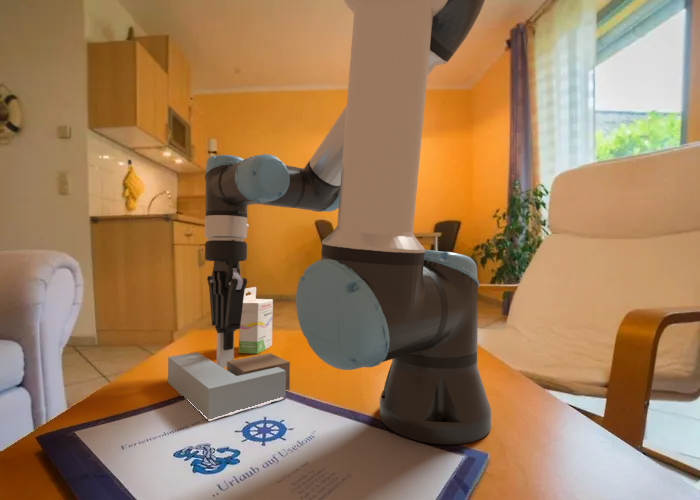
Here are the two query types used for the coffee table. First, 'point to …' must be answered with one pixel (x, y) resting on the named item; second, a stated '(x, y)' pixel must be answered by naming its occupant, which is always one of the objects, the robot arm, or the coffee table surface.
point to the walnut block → (259, 365)
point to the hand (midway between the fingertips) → (225, 365)
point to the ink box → (255, 323)
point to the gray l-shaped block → (222, 385)
